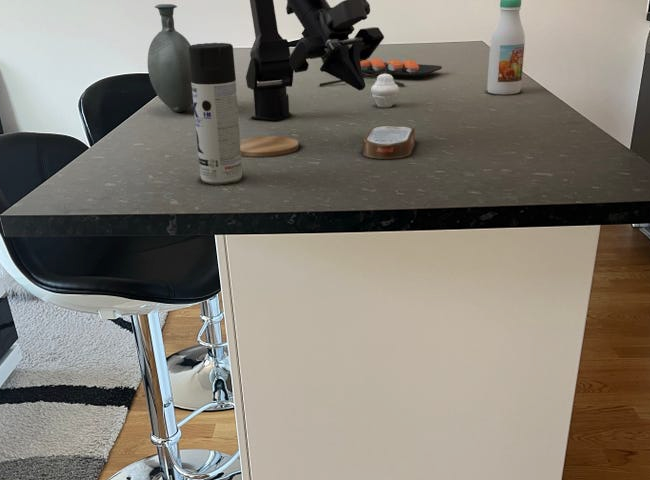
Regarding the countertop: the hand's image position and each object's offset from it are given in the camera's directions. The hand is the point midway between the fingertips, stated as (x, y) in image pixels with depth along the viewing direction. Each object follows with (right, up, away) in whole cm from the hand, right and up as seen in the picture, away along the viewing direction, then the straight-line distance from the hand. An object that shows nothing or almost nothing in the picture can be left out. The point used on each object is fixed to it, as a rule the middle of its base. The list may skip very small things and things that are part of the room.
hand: (362, 88), depth 132 cm
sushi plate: (+6, +28, +72) cm, 77 cm away
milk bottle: (+36, +16, +49) cm, 63 cm away
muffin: (+7, +10, +39) cm, 41 cm away
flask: (-39, +9, +41) cm, 58 cm away
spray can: (-23, -18, -9) cm, 31 cm away
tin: (+1, -7, +5) cm, 9 cm away
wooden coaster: (-17, -8, +8) cm, 21 cm away
